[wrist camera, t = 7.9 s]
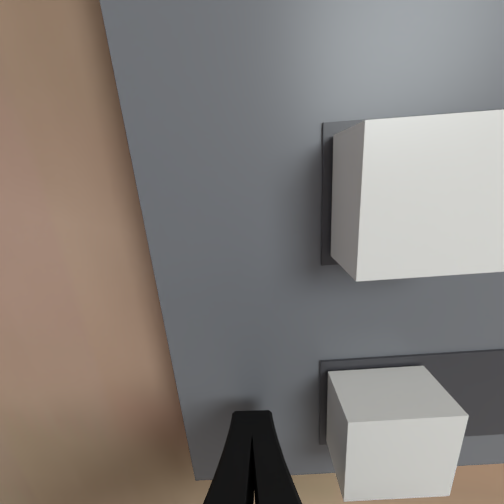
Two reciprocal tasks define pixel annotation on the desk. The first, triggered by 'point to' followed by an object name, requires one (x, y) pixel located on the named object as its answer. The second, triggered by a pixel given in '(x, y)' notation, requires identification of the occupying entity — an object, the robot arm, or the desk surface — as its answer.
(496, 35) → the switch board
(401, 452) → the white cube
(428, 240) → the switch tab
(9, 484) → the desk surface
